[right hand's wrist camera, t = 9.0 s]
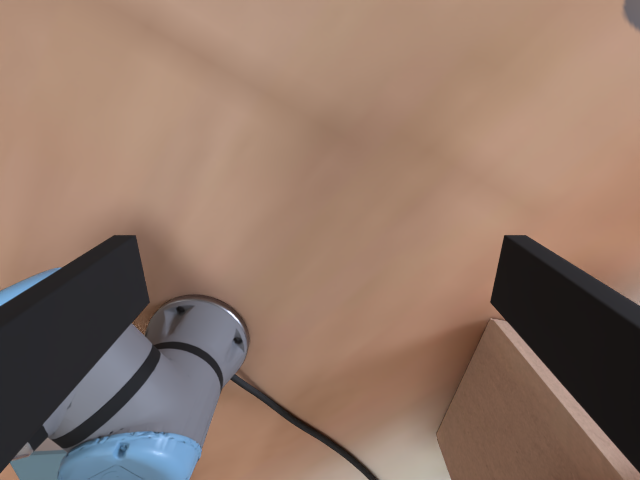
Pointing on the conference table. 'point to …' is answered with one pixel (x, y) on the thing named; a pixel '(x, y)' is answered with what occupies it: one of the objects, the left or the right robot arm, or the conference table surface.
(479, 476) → the box
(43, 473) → the book
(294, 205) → the conference table surface
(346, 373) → the conference table surface
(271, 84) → the conference table surface
